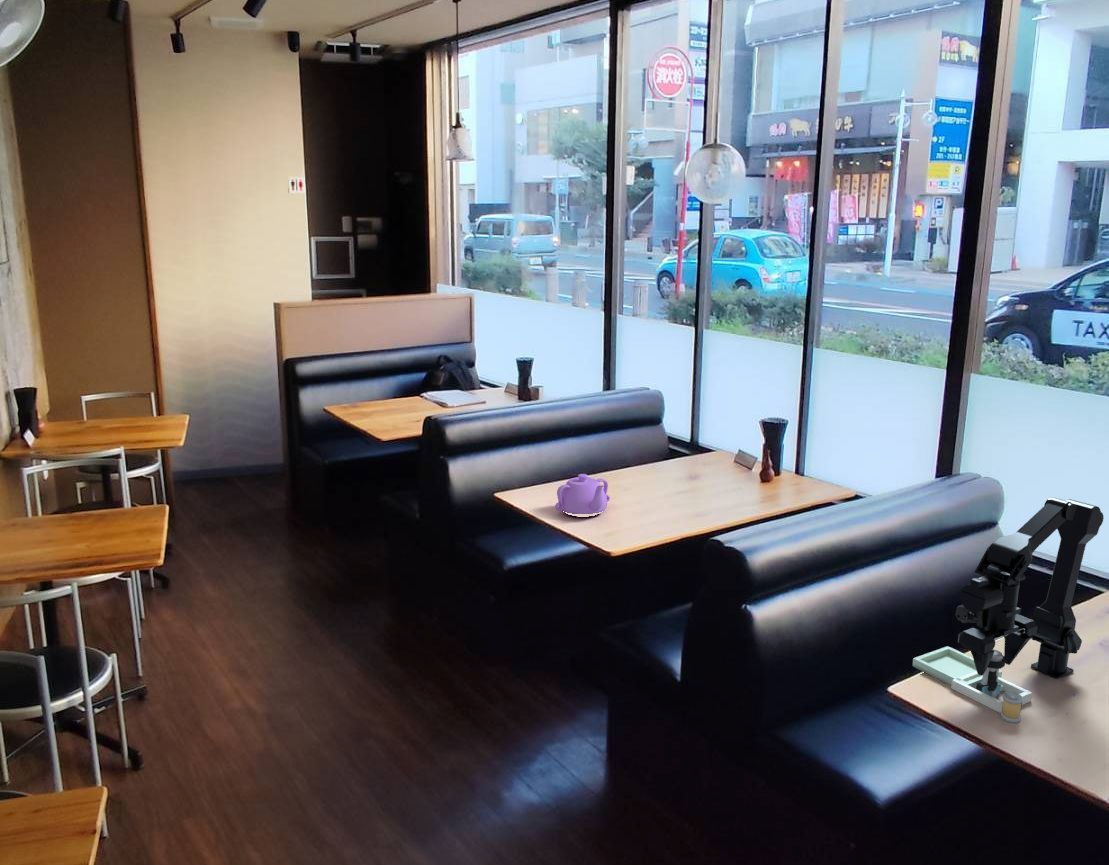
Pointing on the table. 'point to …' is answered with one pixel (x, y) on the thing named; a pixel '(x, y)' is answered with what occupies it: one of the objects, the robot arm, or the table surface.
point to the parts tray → (948, 666)
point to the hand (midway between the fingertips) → (993, 669)
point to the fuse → (1011, 707)
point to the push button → (992, 675)
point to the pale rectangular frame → (984, 697)
